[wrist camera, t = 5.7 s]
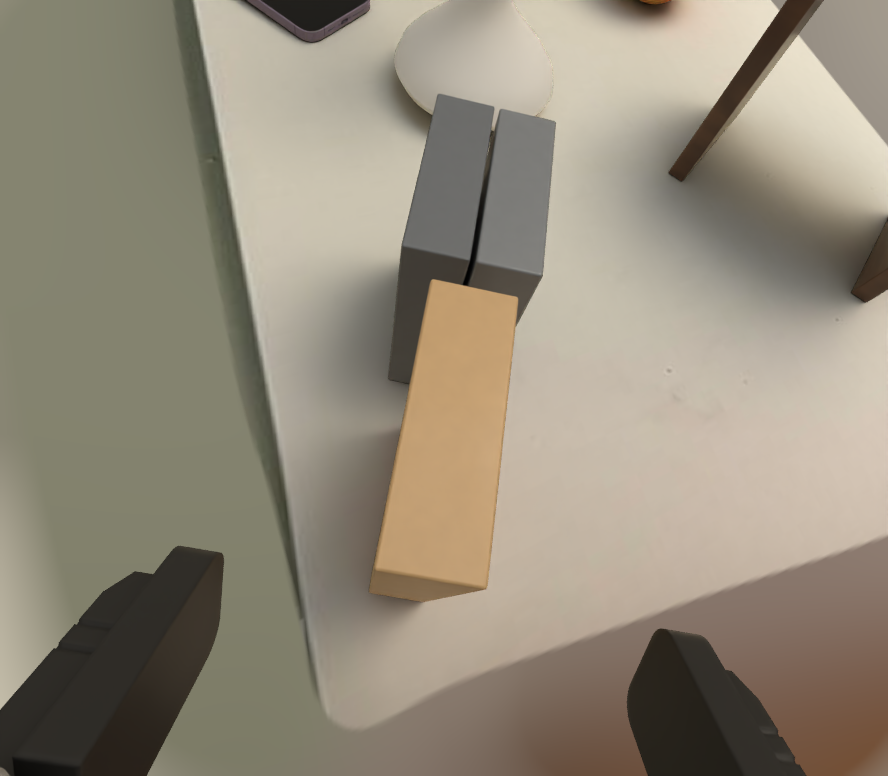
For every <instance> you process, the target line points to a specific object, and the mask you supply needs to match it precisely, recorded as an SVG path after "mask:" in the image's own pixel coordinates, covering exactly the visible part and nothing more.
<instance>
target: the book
mask: <svg viewBox="0 0 888 776" xmlns="http://www.w3.org/2000/svg"><path fill="white" fill-rule="evenodd" d="M517 308H518V298H517V297H515V296H510V295H505V294H501V293H496V292H491V291H487V290H482V289H477V288H473V287H468V286H463V285H459V284H454V283H449V282H445V281H440V280H435V279H432V280H431V281H430V285H429V290H428V295H427V300H426V305H425V310H424V315H423V320H422V325H421V330H420V335H419V340H418V345H417V350H416V355H415V360H414V365H413V370H412V375H411V380H410V385H409V390H408V395H407V400H406V405H405V410H404V415H403V420H402V425H401V430H400V435H399V440H398V445H397V450H396V455H395V460H394V465H393V470H392V475H391V480H390V485H389V490H388V495H387V500H386V505H385V510H384V515H383V520H382V525H381V530H380V535H379V540H378V545H377V550H376V555H375V560H374V565H373V571H372V576H371V581H370V587H369V592H370V593H373V594H379V595H385V596H391V597H397V598H403V599H408V600H414V601H420V602H426V601H431V600H436V599H441V598H446V597H450V596H455V595H460V594H465V593H470V592H475V591H480V590H484V589H486V588H487V585H488V576H489V567H490V557H491V548H492V539H493V530H494V520H495V511H496V502H497V493H498V483H499V474H500V465H501V456H502V446H503V437H504V428H505V419H506V409H507V400H508V391H509V382H510V372H511V363H512V354H513V345H514V335H515V326H516V317H517Z"/></svg>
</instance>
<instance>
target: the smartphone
mask: <svg viewBox="0 0 888 776" xmlns="http://www.w3.org/2000/svg"><path fill="white" fill-rule="evenodd" d="M247 1H248V2H250V3H251V4H253V5H254V6H255V7H257V8H258V9H260V10H261V11H262V12H264V13H265V14H267V15H268V16H269V17H271V18H272V19H274V20H275V21H277V22H278V23H279V24H281V25H282V26H284V27H285V28H286V29H288V30H289V31H291V32H292V33H293V34H295V35H296V36H298V37H299V38H301V39H303V40H305V41H309V42H315V41H319V40H322V39H323V38H325V37H327V36H328V35H330V34H332V33H333V32H335V31H337V30H338V29H340V28H341V27H343V26H345V25H346V24H348V23H350V22H351V21H353V20H355V19H356V18H358V17H359V16H361V15H363V14H364V13H366V12H367V11H368V10H369V8H370V0H247Z"/></svg>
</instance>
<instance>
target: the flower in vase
mask: <svg viewBox="0 0 888 776" xmlns="http://www.w3.org/2000/svg"><path fill="white" fill-rule="evenodd" d="M394 63H395V69H396V72H397V75H398V77H399V79H400V81H401V83H402V85H403V86H404V88H405V90H406V91H407V93H408V94H409V95H410V97H411V98H412V99H413V100H414V101H415V102H416V103H417V104H418V105H419V106H420V107H421V108H423V109H424V110H425V111H427V112H428V113H430V114H432V115H433V111H434V107H435V103H436V98H437V95H438V94H444V95H448V96H452V97H456V98H461V99H465V100H469V101H473V102H477V103H482V104H486V105H490V106H494V108H495V110H494V116H493V122H492V128H491V131H494V129H495V125H496V121H497V117H498V114H499V110H500V109H506V110H510V111H514V112H518V113H523V114H527V115H531V116H535V115H537V114H538V113H540V112H541V111H542V110H543V109H544V108H545V106H546V105H547V103H548V102H549V100H550V98H551V96H552V91H553V69H552V64H551V61H550V58H549V56H548V54H547V52H546V50H545V48H544V46H543V44H542V42H541V40H540V39H539V37H538V36H537V35H536V33H535V32H534V31H533V29H532V28H531V27H530V25H529V24H528V23H527V21H526V20H525V19H524V18H523V17H522V15H521V14H520V12H519V11H518V10H517V8H516V6H515V4H514V1H513V0H449V1H447V2H445V3H443V4H441V5H439V6H437V7H435V8H433V9H431V10H429V11H427V12H426V13H424V14H423V15H421V16H420V17H419V18H418V19H416V20H415V21H414V22H413V23H411V24H410V25H409V26H408V27H407V29H406V30H405V31H404V33H403V35H402V37H401V39H400V41H399V44H398V46H397V48H396V51H395V57H394Z"/></svg>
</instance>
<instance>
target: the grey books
mask: <svg viewBox="0 0 888 776" xmlns="http://www.w3.org/2000/svg"><path fill="white" fill-rule="evenodd" d="M494 110H495V108H494V106H490V105H486V104H482V103H477V102H473V101H469V100H465V99H461V98H456V97H452V96H448V95H444V94H438V95H437V98H436V103H435V107H434V111H433V115H432V119H431V124H430V128H429V132H428V136H427V140H426V145H425V149H424V153H423V157H422V161H421V166H420V170H419V174H418V178H417V182H416V187H415V191H414V195H413V199H412V203H411V208H410V212H409V216H408V220H407V225H406V229H405V233H404V237H403V241H402V246H401V256H400V266H399V276H398V286H397V296H396V305H395V315H394V325H393V335H392V345H391V355H390V365H389V375H388V379H389V380H393V381H398V382H403V383H408V384H410V380H411V375H412V370H413V365H414V360H415V355H416V350H417V345H418V340H419V335H420V330H421V325H422V320H423V315H424V310H425V305H426V300H427V295H428V290H429V285H430V281H431V280H432V279H435V280H440V281H445V282H449V283H454V284H459V285H463V286H468V287H473V288H477V289H482V290H487V291H491V292H496V293H501V294H505V295H510V296H515V297H517V298H518V308H517V317H516V326H517V324H518V322H519V320H520V318H521V316H522V314H523V312H524V310H525V309H526V307H527V305H528V303H529V301H530V299H531V297H532V295H533V293H534V291H535V290H536V288H537V286H538V284H539V282H540V280H541V278H542V276H543V267H544V255H545V243H546V232H547V220H548V208H549V197H550V185H551V173H552V162H553V150H554V138H555V127H556V122H555V121H552V120H548V119H544V118H539V117H535V116H531V115H527V114H523V113H518V112H514V111H510V110H506V109H500V110H499V114H498V117H497V121H496V125H495V129H494V132H493V136H492V140H491V143H490V147H489V141H490V135H491V128H492V122H493V116H494ZM488 147H489V151H488ZM487 153H488V155H487ZM516 326H515V327H516Z"/></svg>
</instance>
